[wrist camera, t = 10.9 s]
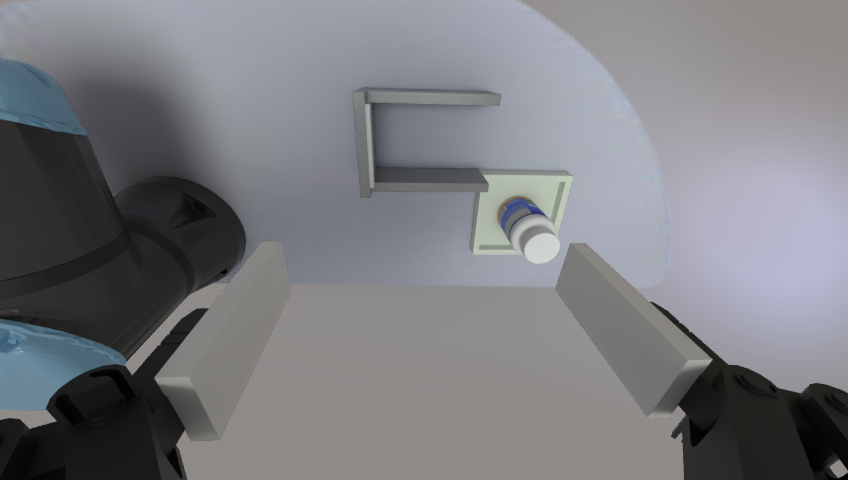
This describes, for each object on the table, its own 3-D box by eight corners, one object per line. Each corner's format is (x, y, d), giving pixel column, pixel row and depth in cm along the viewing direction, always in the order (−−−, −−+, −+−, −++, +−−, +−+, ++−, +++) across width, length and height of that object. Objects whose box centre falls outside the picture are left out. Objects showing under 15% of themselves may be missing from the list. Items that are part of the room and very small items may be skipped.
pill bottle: (542, 215, 42) (576, 251, 34) (509, 237, 44) (534, 277, 35) (522, 186, 40) (553, 217, 31) (488, 211, 41) (509, 247, 33)
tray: (470, 247, 45) (472, 254, 43) (479, 170, 39) (482, 174, 37) (546, 247, 45) (552, 254, 44) (566, 171, 40) (573, 175, 38)
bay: (368, 175, 39) (360, 197, 32) (363, 87, 34) (352, 91, 27) (477, 176, 40) (492, 198, 33) (486, 91, 35) (507, 96, 28)
